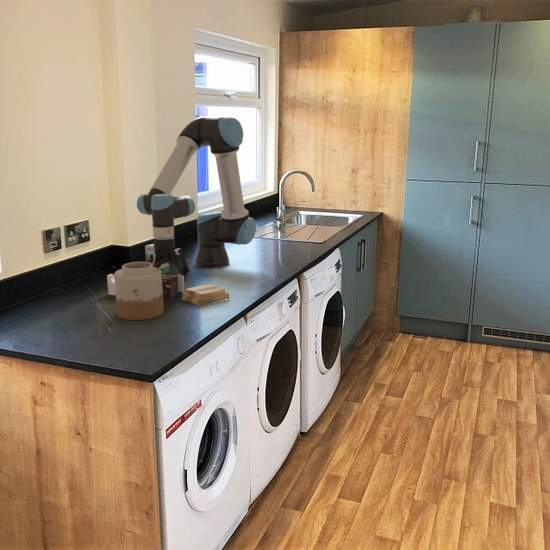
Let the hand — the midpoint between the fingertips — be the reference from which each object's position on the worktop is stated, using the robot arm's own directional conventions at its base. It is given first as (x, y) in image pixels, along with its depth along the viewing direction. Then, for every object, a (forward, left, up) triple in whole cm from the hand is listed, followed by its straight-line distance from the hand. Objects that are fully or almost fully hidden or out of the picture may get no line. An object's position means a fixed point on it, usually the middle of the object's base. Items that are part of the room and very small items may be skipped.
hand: (167, 295), depth 224 cm
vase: (+11, -18, 0) cm, 21 cm away
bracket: (-17, -7, -1) cm, 18 cm away
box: (0, 0, 0) cm, 0 cm away
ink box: (-32, +17, 0) cm, 36 cm away
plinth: (+14, +7, 0) cm, 16 cm away
